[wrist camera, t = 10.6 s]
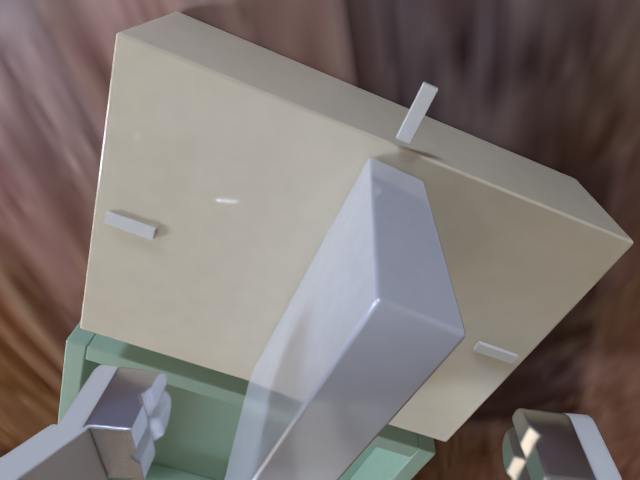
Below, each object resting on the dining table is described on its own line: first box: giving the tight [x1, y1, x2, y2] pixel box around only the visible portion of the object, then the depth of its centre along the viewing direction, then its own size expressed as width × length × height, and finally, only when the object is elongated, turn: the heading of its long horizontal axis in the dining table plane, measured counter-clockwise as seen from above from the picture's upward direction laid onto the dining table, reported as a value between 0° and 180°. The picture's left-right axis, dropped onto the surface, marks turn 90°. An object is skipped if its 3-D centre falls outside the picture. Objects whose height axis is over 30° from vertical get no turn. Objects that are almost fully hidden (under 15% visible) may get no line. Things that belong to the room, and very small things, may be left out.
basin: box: [58, 321, 436, 480], centre depth 23 cm, size 16×12×3 cm
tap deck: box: [80, 11, 634, 442], centre depth 15 cm, size 14×13×4 cm
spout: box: [224, 158, 466, 480], centre depth 11 cm, size 9×2×6 cm, turn 156°
